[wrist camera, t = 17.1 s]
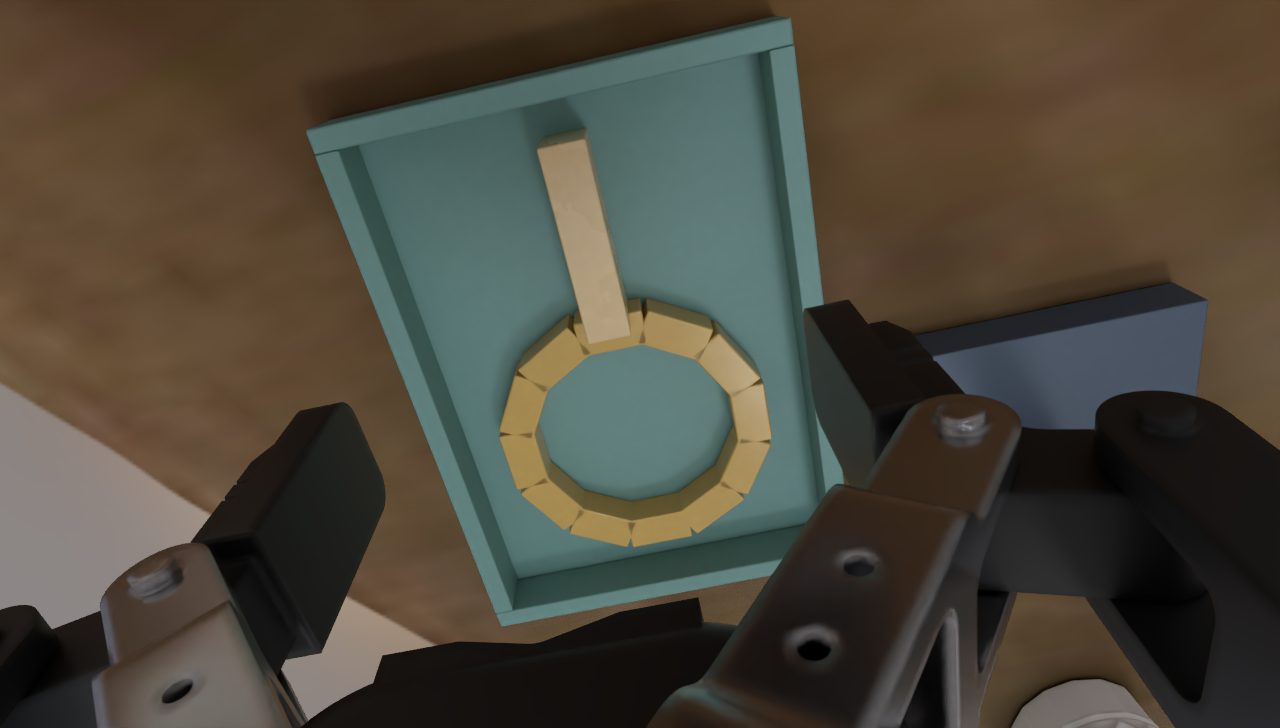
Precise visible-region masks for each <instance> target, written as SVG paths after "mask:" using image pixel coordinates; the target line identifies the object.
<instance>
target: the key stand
mask: <svg viewBox="0 0 1280 728" xmlns="http://www.w3.org/2000/svg"><path fill="white" fill-rule="evenodd" d="M1207 306H1208V300H1207V299H1205V298H1203V297H1201V296H1199V295H1197V294H1195V293H1193V292H1191V291H1189V290H1187V289H1185V288H1182V287H1180V286H1178V285H1176V284H1174V283H1168V284H1163V285H1158V286H1154V287H1149V288H1144V289H1139V290H1134V291H1129V292H1125V293H1120V294H1115V295H1110V296H1105V297H1100V298H1095V299H1091V300H1086V301H1081V302H1076V303H1071V304H1066V305H1062V306H1057V307H1052V308H1047V309H1042V310H1037V311H1032V312H1028V313H1023V314H1018V315H1013V316H1008V317H1003V318H999V319H994V320H989V321H984V322H979V323H974V324H969V325H965V326H960V327H955V328H950V329H945V330H940V331H936V332H931V333H926V334H921V335H916V336H914V337H915V338H916V339H917V340H918V341H919V342H920V343H921V344H922V346H923V349H926V350H927V351H928V352H929V353H930V354H931V356H932V357H933V358H934V361H937V362H938V363H939V365H940V366H941V367H942V368H943V369H944V370H945V371H946V372H947V374H948V375H949V376H950V377H951V378H952V379H953V380H954V381H955V383H956V384H957V385H958V386H959V387H960V388H961V389H962V390H963V392H964V393H965V394H971V395H979V396H984V397H988V398H992V399H995V400H997V401H1000V402H1002V403H1004V404H1006V405H1008V406H1009V407H1010V408H1012V409H1013V410H1014V411H1015V412H1016V413H1017V414H1018V416H1019V418H1020V420H1021V425H1022V426H1021V427H1027V428H1036V429H1094V427H1095V414H1096V411H1097V409H1098V407H1099V406H1100V405H1101V404H1102V403H1103V402H1104V401H1106V400H1107V399H1109V398H1112V397H1114V396H1117V395H1120V394H1123V393H1128V392H1135V391H1148V390H1157V391H1170V392H1178V393H1183V394H1188V395H1192V396H1196V392H1197V384H1198V377H1199V369H1200V361H1201V353H1202V345H1203V337H1204V330H1205V322H1206V314H1207Z"/></svg>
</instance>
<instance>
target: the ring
mask: <svg viewBox="0 0 1280 728" xmlns="http://www.w3.org/2000/svg"><path fill="white" fill-rule="evenodd" d="M537 153H538V157H539V161H540V165H541V169H542V172H543V176H544V180H545V184H546V187H547V191H548V195H549V199H550V202H551V206H552V210H553V214H554V218H555V221H556V225H557V229H558V233H559V236H560V240H561V244H562V248H563V251H564V255H565V259H566V263H567V267H568V270H569V274H570V278H571V282H572V285H573V289H574V293H575V297H576V300H577V304H578V308H579V311H576V312H575V314H574V319H573V318H572V317H571V316H570V315H569V314H568V315H567V316H566V317H565V318H563V319H562V320H561V321H560V322H559V323H558V324H557V325H555V326H554V327H553V328H552V329H551V330H550V331H549V332H547V333H546V334H545V335H544V336H543V337H542V338H541V339H540V340H538V341H537V342H536V343H535V344H534V345H533V346H532V347H530V348H529V349H528V350H527V351H526V352H525V353H524V354H523V355H522V357H521V361H518V363H517V366H516V370H515V374H514V377H513V381H512V384H511V388H510V391H509V395H508V398H507V402H506V405H505V409H504V412H503V416H502V420H501V424H500V428H499V431H500V436H499V439H500V442H501V445H502V448H503V450H504V453H505V456H506V459H507V462H508V465H509V468H510V471H511V474H512V477H513V480H514V483H515V485H516V488H517V489H521V495H522V496H523V497H524V498H526V499H527V500H528V501H529V502H530V503H532V504H533V505H534V506H535V507H536V508H538V509H539V510H540V511H541V512H542V513H544V514H545V515H546V516H547V517H548V518H550V519H551V520H552V521H553V522H554V523H556V524H557V525H558V526H559V527H560V528H562V529H563V530H566V529H567V528H568V527H570V534H574V535H578V536H582V537H586V538H591V539H595V540H599V541H603V542H608V543H612V544H616V545H620V546H625V547H628V545H629V542H630V540H631V541H632V545H633V547H638V546H643V545H648V544H653V543H658V542H664V541H669V540H674V539H679V538H684V537H690V536H692V530H691V528H692V529H693V530H694V531H695V532H696V533H699V532H701V531H702V530H703V529H705V528H706V527H707V526H709V525H710V524H712V523H713V522H714V521H716V520H717V519H718V518H720V517H721V516H723V515H724V514H725V513H727V512H728V511H729V510H731V509H732V508H734V507H735V506H736V505H738V504H739V503H740V502H742V501H743V500H744V495H743V494H749V492H750V489H751V487H752V485H753V483H754V481H755V479H756V476H757V474H758V472H759V470H760V468H761V466H762V464H763V461H764V459H765V457H766V455H767V453H768V451H769V448H770V446H771V442H770V440H769V439H772V431H771V425H770V418H769V412H768V405H767V399H766V393H765V386H764V382H763V380H762V378H761V375H760V373H759V370H758V369H757V367H756V364H755V362H754V361H753V360H752V359H751V358H750V357H749V356H748V355H747V354H746V353H745V351H744V350H743V349H742V348H741V347H740V346H739V345H738V344H737V343H736V342H735V341H734V340H733V339H732V337H731V336H730V335H729V334H728V333H727V332H726V331H725V330H724V329H723V328H722V327H721V326H720V325H719V323H718V322H717V321H715V320H714V321H712V322H711V321H710V318H709V316H707V315H703V314H700V313H697V312H693V311H690V310H686V309H683V308H680V307H676V306H673V305H669V304H666V303H663V302H659V301H656V300H652V299H649V298H647V299H646V300H645V303H644V306H643V308H642V303H641V300H640V298H636V299H631V300H627V296H626V292H625V288H624V284H623V279H622V275H621V271H620V266H619V262H618V258H617V254H616V249H615V245H614V241H613V236H612V232H611V228H610V224H609V219H608V215H607V211H606V206H605V202H604V198H603V194H602V189H601V185H600V181H599V176H598V172H597V168H596V164H595V159H594V155H593V151H592V146H591V142H590V138H589V134H588V129H587V128H582V129H578V130H574V131H569V132H565V133H560V134H556V135H551V136H547V137H544V138H543V139H542V141H541V143H540V145H539V147H538V149H537ZM638 345H645V346H648V347H652V348H656V349H659V350H663V351H666V352H670V353H673V354H677V355H680V356H684V357H687V358H691V359H694V360H696V361H697V362H698V363H699V364H700V365H701V366H702V368H703V369H704V370H705V371H706V372H707V373H708V374H709V375H710V376H711V377H712V378H713V379H714V380H715V381H716V382H717V383H718V384H719V385H720V386H721V387H722V388H723V389H724V390H725V391H726V392H727V395H728V401H729V406H730V412H731V417H732V423H733V426H732V428H731V430H730V432H729V435H728V437H727V439H726V442H725V444H724V446H723V449H722V451H721V453H720V456H719V458H718V460H717V463H716V464H715V465H714V466H713V467H711V468H710V469H709V470H707V471H706V472H705V473H703V474H702V475H701V476H699V477H698V478H697V479H695V480H694V481H693V482H691V483H690V484H689V485H687V486H686V487H685V488H683V489H682V490H681V491H679V492H678V493H673V494H667V495H662V496H657V497H652V498H647V499H642V500H637V501H632V502H630V501H626V500H622V499H618V498H614V497H610V496H606V495H602V494H598V493H594V492H590V491H586V490H584V489H582V488H581V487H580V486H579V485H578V484H577V483H576V482H574V481H573V480H572V479H571V478H570V477H569V476H567V475H566V474H565V473H564V472H563V471H562V470H561V469H559V468H558V467H557V466H556V465H555V464H554V463H553V462H551V460H550V457H549V454H548V451H547V447H546V444H545V441H544V438H543V435H542V431H541V428H540V425H539V419H540V416H541V413H542V410H543V406H544V403H545V400H546V397H547V393H548V390H549V389H550V388H552V387H553V386H554V385H555V384H556V383H557V382H559V381H560V380H561V379H562V378H563V377H564V376H566V375H567V374H568V373H569V372H570V371H572V370H573V369H574V368H575V367H576V366H577V365H579V364H580V363H581V362H582V361H583V360H584V359H586V358H587V357H588V356H590V355H595V354H600V353H605V352H610V351H614V350H619V349H624V348H629V347H634V346H638Z"/></svg>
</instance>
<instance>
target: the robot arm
mask: <svg viewBox="0 0 1280 728" xmlns="http://www.w3.org/2000/svg"><path fill="white" fill-rule="evenodd" d="M803 323H804V332H805V340H806V349H807V357H808V366H809V374H810V382H811V390H812V397H813V402H814V406H815V410H816V414H817V417H818V420H819V423H820V425H821V427H822V429H823V431H824V433H825V435H826V438H827V440H828V442H829V444H830V446H831V448H832V450H833V452H834V454H835V456H836V458H837V460H838V462H839V464H840V466H841V468H842V470H843V472H844V474H845V476H846V478H847V480H848V482H849V484H850V486H849V485H844V484H835V485H833V486H832V487H831V488H830V489H829V490H828V492H827V493H826V494H825V496H824V497H823V499H822V500H821V502H820V503H819V505H818V506H817V508H816V509H815V511H814V512H813V514H812V515H811V517H810V518H809V520H808V521H807V523H806V524H805V526H804V527H803V529H802V530H801V532H800V533H799V535H798V536H797V538H796V539H795V541H794V542H793V544H792V545H791V547H790V548H789V550H788V551H787V553H786V554H785V556H784V557H783V559H782V560H781V562H780V563H779V565H778V566H777V568H776V569H775V571H774V572H773V574H772V575H771V577H770V578H769V580H768V581H767V583H766V584H765V586H764V587H763V589H762V590H761V592H760V593H759V595H758V596H757V598H756V599H755V601H754V602H753V604H752V605H751V607H750V608H749V610H748V611H747V613H746V614H745V616H744V617H743V619H742V620H741V622H740V623H739V625H738V626H736V625H729V624H722V623H712V622H704V620H703V616H702V612H701V607H700V603H699V599H698V598H693V599H688V600H682V601H677V602H671V603H666V604H660V605H655V606H649V607H644V608H639V609H633V610H628V611H622V612H618V613H616V614H613V615H610V616H608V617H605V618H603V619H600V620H598V621H595V622H592V623H590V624H587V625H585V626H582V627H579V628H577V629H574V630H572V631H569V632H567V633H564V634H561V635H559V636H556V637H554V638H551V639H549V640H546V641H543V642H540V643H535V644H516V643H486V642H454V643H448V644H443V645H437V646H432V647H427V648H421V649H416V650H410V651H405V652H399V653H394V654H388V655H383V656H382V659H381V662H380V665H379V667H378V670H377V673H376V676H375V679H374V682H373V684H370V685H368V686H365V687H363V688H362V689H359V690H357V691H355V692H353V693H351V694H349V695H347V696H346V697H344V698H342V699H340V700H339V701H337V702H335V703H334V704H332V705H330V706H329V707H327V708H326V709H324V710H323V711H321V712H320V713H318V714H317V715H316V716H314V717H313V718H311V719H310V720H309V721H308V719H307V717H306V715H305V713H304V711H303V710H302V707H301V705H300V704H299V701H298V699H297V697H296V695H295V693H294V691H293V689H292V687H291V685H290V683H289V681H288V680H287V678H286V676H285V675H284V673H283V671H282V670H281V668H282V665H283V664H284V662H285V660H286V659H292V658H297V657H303V656H308V655H313V654H319V653H322V650H323V648H324V646H325V643H326V641H327V639H328V636H329V634H330V632H331V630H332V627H333V625H334V623H335V620H336V618H337V616H338V613H339V611H340V609H341V606H342V604H343V602H344V600H345V597H346V595H347V593H348V591H349V588H350V586H351V584H352V581H353V579H354V577H355V574H356V572H357V570H358V568H359V565H360V563H361V561H362V558H363V556H364V554H365V551H366V549H367V547H368V544H369V542H370V540H371V538H372V535H373V533H374V531H375V528H376V526H377V524H378V521H379V519H380V517H381V515H382V512H383V510H384V506H385V485H384V481H383V477H382V474H381V472H380V470H379V467H378V465H377V463H376V461H375V458H374V456H373V454H372V451H371V449H370V447H369V445H368V442H367V440H366V438H365V436H364V433H363V431H362V429H361V426H360V424H359V422H358V420H357V417H356V415H355V413H354V411H353V410H352V408H351V407H350V406H349V405H348V404H346V403H344V402H340V403H335V404H331V405H326V406H321V407H316V408H311V409H306V410H301V411H299V412H298V413H297V414H296V415H295V417H294V418H293V420H292V421H291V422H290V424H289V425H288V426H287V428H286V429H285V430H284V432H283V433H282V434H281V436H280V437H279V438H278V440H277V441H276V442H275V444H274V445H273V446H271V447H270V448H269V449H267V450H266V451H265V452H264V453H262V454H261V455H260V456H259V457H257V458H256V459H255V460H254V461H252V462H251V463H250V465H249V466H248V467H247V469H246V470H245V471H244V473H243V474H242V475H241V477H240V478H239V479H238V480H237V485H234V486H233V487H232V488H231V490H230V491H229V492H228V494H227V495H226V496H225V501H222V502H221V503H220V504H219V505H218V507H217V508H216V509H215V511H214V512H213V513H212V515H211V516H210V517H209V519H208V520H207V521H206V523H205V524H204V525H203V527H202V528H201V529H200V530H199V532H198V533H197V534H196V536H195V537H194V538H193V540H192V541H191V543H186V544H181V545H177V546H174V547H170V548H167V549H165V550H162V551H159V552H157V553H155V554H153V555H151V556H149V557H147V558H145V559H144V560H142V561H140V562H139V563H137V564H135V565H134V566H132V567H131V568H130V569H128V570H127V571H125V572H124V573H123V574H122V575H121V576H120V577H118V578H117V579H116V580H115V581H114V582H113V583H112V584H111V585H110V586H109V588H108V589H107V590H106V591H105V593H104V595H103V597H102V599H101V602H100V609H101V611H99V612H96V613H93V614H91V615H88V616H86V617H83V618H80V619H78V620H75V621H73V622H70V623H68V624H65V625H62V626H60V627H57V628H55V629H51V628H50V626H49V625H48V624H47V622H46V621H45V620H44V618H43V617H42V616H41V615H40V613H39V612H38V611H37V609H36V608H35V607H32V606H29V605H18V606H12V607H8V608H5V609H2V610H0V728H978V726H979V718H980V712H981V707H982V703H983V699H984V695H985V692H986V689H987V686H988V683H989V680H990V676H991V673H992V670H993V667H994V664H995V661H996V658H997V655H998V652H999V649H1000V646H1001V642H1002V639H1003V636H1004V633H1005V630H1006V627H1007V624H1008V621H1009V618H1010V615H1011V611H1012V608H1013V605H1014V602H1015V599H1016V595H1017V592H1022V593H1037V594H1052V595H1067V596H1081V597H1086V599H1087V601H1088V602H1089V604H1090V605H1091V607H1092V608H1093V610H1094V611H1095V613H1096V614H1097V615H1098V617H1099V618H1100V620H1101V621H1102V623H1103V624H1104V626H1105V627H1106V628H1107V630H1108V631H1109V633H1110V634H1111V636H1112V637H1113V639H1114V640H1115V641H1116V643H1117V644H1118V646H1119V647H1120V649H1121V650H1122V652H1123V653H1124V654H1125V656H1126V657H1127V659H1128V660H1129V662H1130V663H1131V664H1132V666H1133V667H1134V669H1135V670H1136V672H1137V673H1138V675H1139V676H1140V677H1141V679H1142V680H1143V682H1144V683H1145V685H1146V686H1147V688H1148V689H1149V690H1150V692H1151V693H1152V695H1153V696H1154V698H1155V699H1156V701H1157V702H1158V703H1159V705H1160V706H1161V708H1162V709H1163V711H1164V712H1165V714H1166V715H1167V716H1168V718H1169V719H1170V721H1171V722H1172V724H1173V725H1174V727H1175V728H1280V450H1278V449H1277V448H1276V447H1274V446H1273V445H1272V444H1270V443H1269V442H1268V441H1266V440H1265V439H1264V438H1262V437H1261V436H1260V435H1258V434H1257V433H1256V432H1254V431H1253V430H1252V429H1250V428H1249V427H1248V426H1246V425H1245V424H1244V423H1243V422H1241V421H1240V420H1239V419H1237V418H1236V417H1235V416H1233V415H1232V414H1231V413H1229V412H1228V411H1227V410H1225V409H1223V408H1222V407H1220V406H1219V405H1216V404H1214V403H1212V402H1210V401H1208V400H1205V399H1202V398H1199V397H1196V396H1192V395H1188V394H1183V393H1178V392H1170V391H1157V390H1148V391H1135V392H1128V393H1123V394H1120V395H1117V396H1114V397H1112V398H1109V399H1107V400H1106V401H1104V402H1103V403H1102V404H1101V405H1100V406H1099V407H1098V409H1097V411H1096V414H1095V427H1094V429H1036V428H1027V427H1021V426H1022V425H1021V420H1020V418H1019V416H1018V414H1017V413H1016V412H1015V411H1014V410H1013V409H1012V408H1010V407H1009V406H1008V405H1006V404H1004V403H1002V402H1000V401H997V400H995V399H992V398H988V397H984V396H979V395H971V394H965V393H964V392H963V390H962V389H961V388H960V387H959V386H958V385H957V384H956V383H955V381H954V380H953V379H952V378H951V377H950V376H949V375H948V374H947V372H946V371H945V370H944V369H943V368H942V367H941V366H940V365H939V363H938V362H937V361H934V358H933V357H932V356H931V354H930V353H929V352H928V351H927V350H926V349H923V346H922V344H921V343H920V342H919V341H918V340H917V339H916V338H915V337H914V335H913V334H912V333H911V332H910V331H908V330H906V329H904V328H901V327H899V326H897V325H894V324H892V323H890V322H887V321H882V322H877V323H872V324H867V322H866V321H865V320H864V318H863V317H862V316H861V315H860V313H859V312H858V311H857V310H856V308H855V307H854V306H853V304H852V303H851V302H850V301H849V300H844V301H839V302H834V303H829V304H824V305H819V306H814V307H809V308H805V309H804V311H803Z"/></svg>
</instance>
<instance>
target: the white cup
mask: <svg viewBox="0 0 1280 728" xmlns="http://www.w3.org/2000/svg"><path fill="white" fill-rule="evenodd" d="M1011 728H1159V727H1158V726H1157V725H1156V724H1155V723H1154V722H1153V721H1152V720H1151V719H1150V718H1149V716H1148V715H1147V714H1146V713H1145V712H1144V710H1143V709H1142V708H1141V707H1140V705H1139V704H1138V703H1137V702H1136V700H1135V699H1134V698H1133V697H1132V696H1131V694H1130V693H1129V692H1128V691H1127V690H1126V688H1125V687H1123V686H1120V685H1117V684H1114V683H1111V682H1108V681H1105V680H1102V679H1089V680H1073V681H1069V682H1066V683H1064V684H1061V685H1058V686H1055V687H1053V688H1050V689H1047V690H1045V691H1043V692H1042V693H1041V694H1039V695H1038V696H1037V697H1035V698H1034V699H1033V700H1031V701H1030V702H1029V703H1027V704H1026V705H1025V706H1024V707H1023V708H1022V709H1021V711H1020V713H1019V714H1018V716H1017V718H1016V719H1015V721H1014V723H1013V725H1012V727H1011Z"/></svg>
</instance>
